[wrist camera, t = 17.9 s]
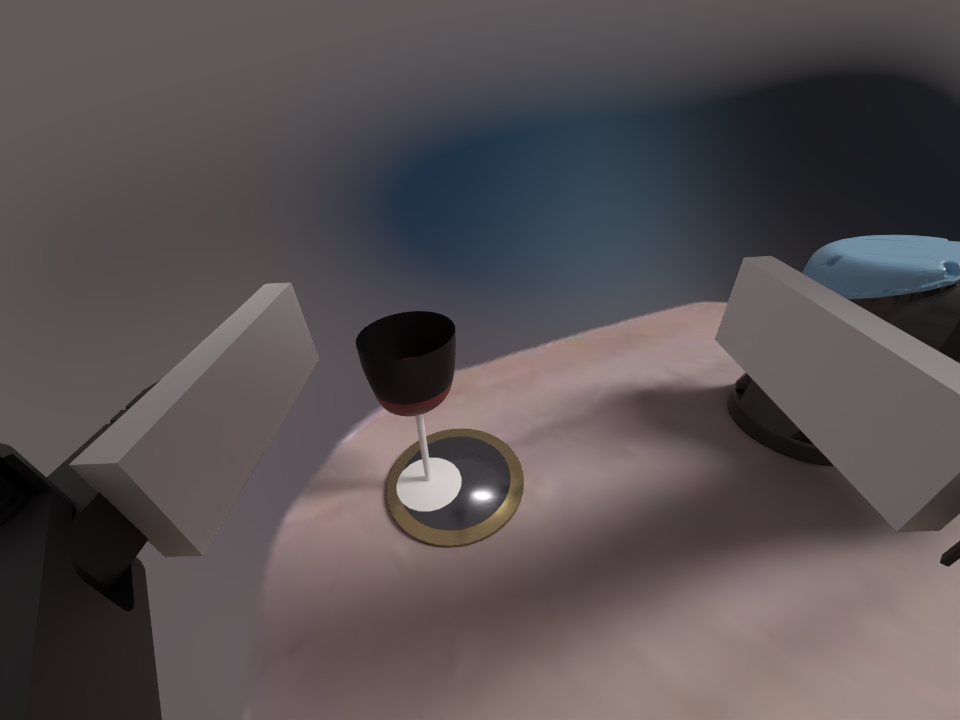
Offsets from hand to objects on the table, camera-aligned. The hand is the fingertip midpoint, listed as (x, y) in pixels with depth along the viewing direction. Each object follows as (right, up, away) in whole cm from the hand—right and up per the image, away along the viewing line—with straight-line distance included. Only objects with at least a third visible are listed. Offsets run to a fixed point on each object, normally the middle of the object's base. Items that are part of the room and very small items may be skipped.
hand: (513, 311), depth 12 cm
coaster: (-4, -16, +33) cm, 37 cm away
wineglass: (-7, -16, +33) cm, 37 cm away
